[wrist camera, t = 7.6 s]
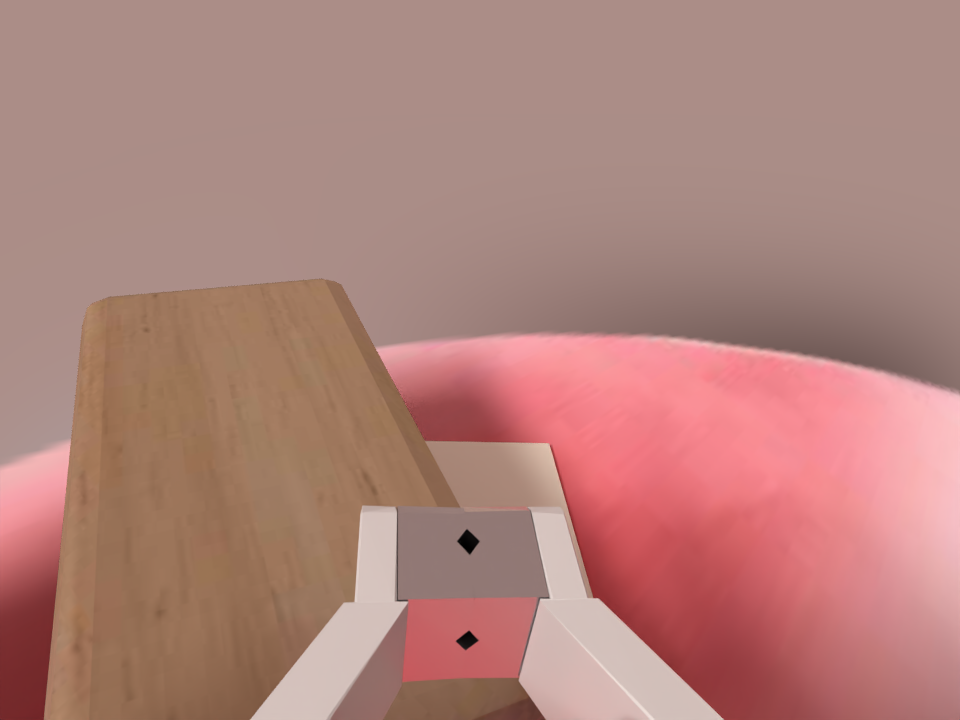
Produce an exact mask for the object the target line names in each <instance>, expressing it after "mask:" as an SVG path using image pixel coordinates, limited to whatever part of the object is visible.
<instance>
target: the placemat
mask: <svg viewBox="0 0 960 720" xmlns="http://www.w3.org/2000/svg"><path fill="white" fill-rule="evenodd" d="M425 442H426V444H427V446H428V448H429V450H430V451H431V453H432V455H433V457H434V459H435V461H436V463H437V464H438V466H439V468H440V470H441V472H442V474H443V476H444V478H445V479H446V481H447V483H448V485H449V487H450V489H451V491H452V492H453V494H454V496H455V498H456V500H457V502H458V504H459V506H460V507H461V508H462V507H526V508H527V507H561V509H562V510H563V511H564V513H565V516H566V520H567V523H568V527H569V530H570V534H571V537H572V541H573V544H574V548H575V551H576V555H577V558H578V562H579V565H580V569H581V573H582V576H583V580H584V583H585V587H586V590H587V594H588V597H589V598H593V595H592V592H591V588H590V585H589V581H588V578H587V574H586V571H585V567H584V564H583V560H582V557H581V553H580V550H579V546H578V543H577V539H576V536H575V532H574V529H573V525H572V522H571V518H570V515H569V511H568V508H567V504H566V501H565V497H564V494H563V490H562V487H561V483H560V480H559V476H558V473H557V469H556V466H555V462H554V459H553V455H552V452H551V448H550V445H549V443H507V442H457V441H425Z"/></svg>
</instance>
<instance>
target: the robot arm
mask: <svg viewBox="0 0 960 720" xmlns="http://www.w3.org/2000/svg"><path fill="white" fill-rule="evenodd" d="M455 678H519V682H520V684H521V685H522V686H523V688H524V689H525V691H526V692H527V694H528V695H529V696H530V698H531V699H532V701H533V702H534V703H535V705H536V706H537V708H538V709H539V711H540V712H541V713H542V715H543V716H544V718H545V719H546V720H724V719H723V718H722V717H721V716H720V715H719V714H718V713H717V712H716V711H715V710H714V709H713V708H712V707H711V706H709V705H708V704H707V703H706V702H705V701H704V700H703V699H702V698H701V697H700V696H699V695H698V694H697V693H696V692H695V691H694V690H693V689H692V688H691V687H690V686H689V685H688V684H687V683H686V682H685V681H684V680H683V679H682V678H681V677H680V676H679V675H677V674H676V673H675V672H674V671H673V670H672V669H671V668H670V667H669V666H668V665H667V664H666V663H665V662H664V661H663V660H662V659H661V658H660V657H659V656H658V655H657V654H656V653H655V652H654V651H653V650H652V649H651V648H650V647H649V646H648V645H647V644H645V643H644V642H643V641H642V640H641V639H640V638H639V637H638V636H637V635H636V634H635V633H634V632H633V631H632V630H631V629H630V628H629V627H628V626H627V625H626V624H625V623H624V622H623V621H622V620H621V619H620V618H619V617H618V616H617V615H616V614H615V613H613V612H612V611H611V610H610V609H609V608H608V607H607V606H606V605H605V604H604V603H603V602H602V601H601V600H600V599H599V598H589V597H588V594H587V590H586V587H585V583H584V580H583V576H582V573H581V569H580V565H579V562H578V558H577V555H576V551H575V548H574V544H573V541H572V537H571V534H570V530H569V527H568V523H567V520H566V516H565V513H564V511H563V510H562V509H561V507H527V508H526V507H462V508H454V507H420V506H397V508H396V506H363V505H362V510H361V514H360V527H359V542H358V557H357V572H356V587H355V602H344V603H343V604H342V605H341V607H340V608H339V609H338V610H337V612H336V613H335V614H334V615H333V617H332V618H331V619H330V620H329V622H328V623H327V624H326V625H325V627H324V628H323V629H322V630H321V632H320V633H319V634H318V635H317V637H316V638H315V639H314V640H313V642H312V643H311V644H310V645H309V647H308V648H307V649H306V650H305V652H304V653H303V654H302V655H301V657H300V658H299V659H298V660H297V662H296V663H295V664H294V665H293V667H292V668H291V669H290V670H289V672H288V673H287V674H286V675H285V677H284V678H283V679H282V680H281V682H280V683H279V684H278V685H277V687H276V688H275V689H274V690H273V692H272V693H271V694H270V695H269V697H268V698H267V699H266V700H265V702H264V703H263V704H262V705H261V707H260V708H259V709H258V710H257V712H256V713H255V714H254V715H253V717H252V718H251V719H250V720H383V719H384V717H385V715H386V713H387V711H388V710H389V708H390V706H391V704H392V703H393V701H394V699H395V697H396V695H397V694H398V692H399V690H400V688H401V686H402V682H408V681H424V680H439V679H455Z"/></svg>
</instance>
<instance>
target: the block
mask: <svg viewBox="0 0 960 720" xmlns="http://www.w3.org/2000/svg"><path fill="white" fill-rule="evenodd" d="M362 505H363V506H396V508H397V506H420V507H454V508H461V507H460V506H459V504H458V502H457V500H456V498H455V496H454V494H453V492H452V491H451V489H450V487H449V485H448V483H447V481H446V479H445V478H444V476H443V474H442V472H441V470H440V468H439V466H438V464H437V463H436V461H435V459H434V457H433V455H432V453H431V451H430V450H429V448H428V446H427V444H426V442H425V440H424V438H423V436H422V435H421V433H420V431H419V429H418V427H417V425H416V423H415V422H414V420H413V418H412V416H411V414H410V412H409V410H408V408H407V407H406V405H405V403H404V401H403V399H402V397H401V395H400V394H399V392H398V390H397V388H396V386H395V384H394V382H393V380H392V379H391V377H390V375H389V373H388V371H387V369H386V367H385V366H384V364H383V362H382V360H381V358H380V356H379V354H378V352H377V351H376V349H375V347H374V345H373V343H372V342H371V339H370V338H369V336H368V334H367V332H366V330H365V328H364V326H363V324H362V323H361V321H360V319H359V317H358V315H357V313H356V311H355V309H354V308H353V306H352V304H351V302H350V300H349V298H348V296H347V295H346V293H345V291H344V289H343V287H342V285H341V284H339V283H337V282H334V281H329V280H324V279H312V280H300V281H289V282H277V283H266V284H254V285H242V286H230V287H218V288H207V289H195V290H184V291H173V292H161V293H149V294H137V295H126V296H115V297H108V298H105V299H102V300H100V301H97V302H94V303H92V304H91V305H90V306H89V307H88V308H87V311H86V314H85V318H84V321H83V325H82V335H81V344H80V355H79V365H78V375H77V385H76V395H75V405H74V416H73V426H72V436H71V446H70V456H69V467H68V477H67V487H66V497H65V508H64V518H63V528H62V538H61V548H60V559H59V569H58V579H57V589H56V599H55V610H54V620H53V630H52V640H51V650H50V661H49V671H48V681H47V691H46V701H45V712H44V720H250V719H251V718H252V717H253V715H254V714H255V713H256V712H257V710H258V709H259V708H260V707H261V705H262V704H263V703H264V702H265V700H266V699H267V698H268V697H269V695H270V694H271V693H272V692H273V690H274V689H275V688H276V687H277V685H278V684H279V683H280V682H281V680H282V679H283V678H284V677H285V675H286V674H287V673H288V672H289V670H290V669H291V668H292V667H293V665H294V664H295V663H296V662H297V660H298V659H299V658H300V657H301V655H302V654H303V653H304V652H305V650H306V649H307V648H308V647H309V645H310V644H311V643H312V642H313V640H314V639H315V638H316V637H317V635H318V634H319V633H320V632H321V630H322V629H323V628H324V627H325V625H326V624H327V623H328V622H329V620H330V619H331V618H332V617H333V615H334V614H335V613H336V612H337V610H338V609H339V608H340V607H341V605H342V604H343V603H344V602H355V587H356V572H357V557H358V542H359V527H360V514H361V510H362ZM383 720H546V719H545V718H544V716H543V715H542V713H541V712H540V711H539V709H538V708H537V706H536V705H535V703H534V702H533V701H532V699H531V698H530V696H529V695H528V694H527V692H526V691H525V689H524V688H523V686H522V685H521V684H520V682H519V678H455V679H439V680H424V681H408V682H402V686H401V688H400V690H399V692H398V694H397V695H396V697H395V699H394V701H393V703H392V704H391V706H390V708H389V710H388V711H387V713H386V715H385V717H384V719H383Z"/></svg>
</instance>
